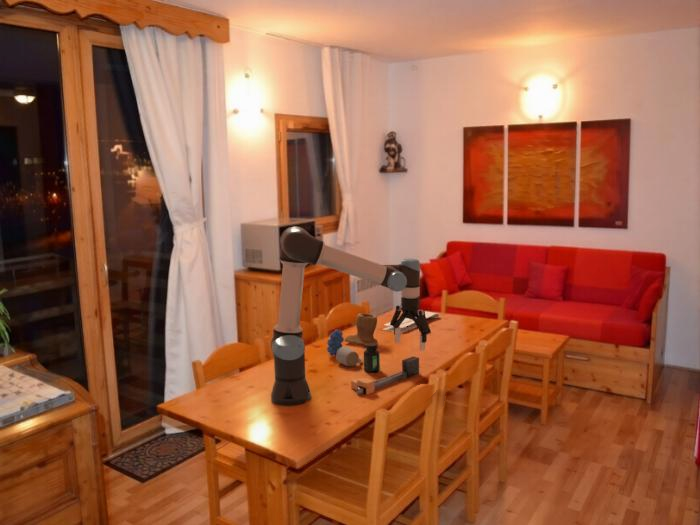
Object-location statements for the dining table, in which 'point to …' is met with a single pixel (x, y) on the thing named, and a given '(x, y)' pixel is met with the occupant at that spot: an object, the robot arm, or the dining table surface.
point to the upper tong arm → (361, 389)
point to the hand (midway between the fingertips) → (409, 346)
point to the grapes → (335, 342)
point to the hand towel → (409, 323)
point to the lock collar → (363, 384)
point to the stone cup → (364, 329)
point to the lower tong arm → (411, 370)
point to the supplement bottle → (371, 358)
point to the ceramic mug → (347, 357)
